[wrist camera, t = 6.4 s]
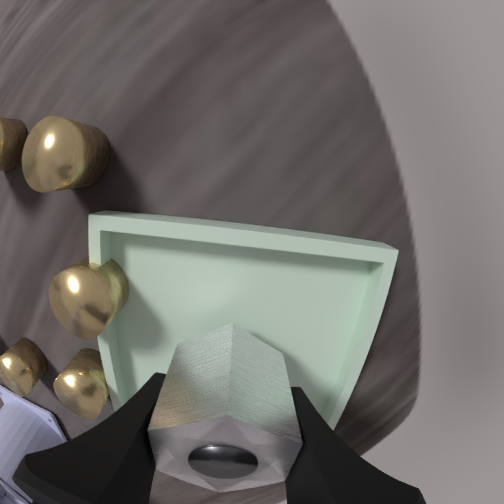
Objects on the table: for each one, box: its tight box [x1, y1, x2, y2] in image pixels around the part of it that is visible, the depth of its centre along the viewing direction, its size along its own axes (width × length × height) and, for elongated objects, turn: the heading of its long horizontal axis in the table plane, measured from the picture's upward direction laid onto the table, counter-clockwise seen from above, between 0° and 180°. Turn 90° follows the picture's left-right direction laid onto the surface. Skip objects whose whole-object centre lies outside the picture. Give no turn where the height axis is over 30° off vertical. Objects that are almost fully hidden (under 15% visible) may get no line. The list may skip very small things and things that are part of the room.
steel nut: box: [147, 323, 303, 492], centre depth 9 cm, size 5×4×5 cm
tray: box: [89, 210, 398, 430], centre depth 13 cm, size 13×13×2 cm
